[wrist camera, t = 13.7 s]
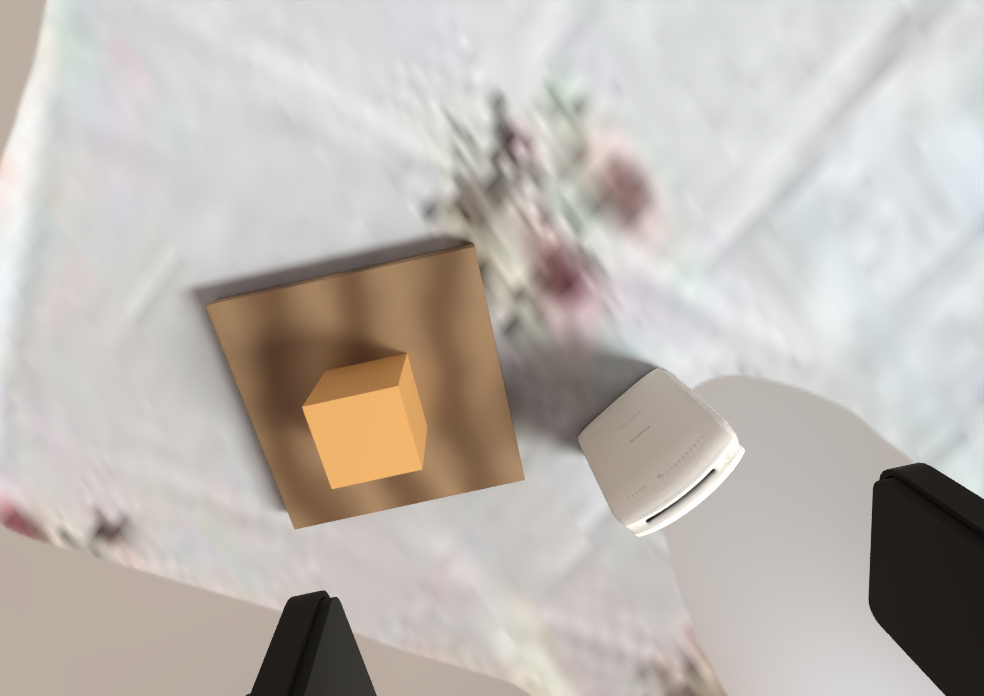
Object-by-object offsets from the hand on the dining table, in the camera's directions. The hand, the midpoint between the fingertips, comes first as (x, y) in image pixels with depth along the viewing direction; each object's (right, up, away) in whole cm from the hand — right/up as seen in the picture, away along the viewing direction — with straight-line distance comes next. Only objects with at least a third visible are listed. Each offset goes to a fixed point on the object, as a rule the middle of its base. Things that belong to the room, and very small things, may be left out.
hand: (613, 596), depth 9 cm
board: (-11, +1, +34) cm, 36 cm away
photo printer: (+10, -1, +36) cm, 38 cm away
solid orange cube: (-11, 0, +32) cm, 34 cm away
